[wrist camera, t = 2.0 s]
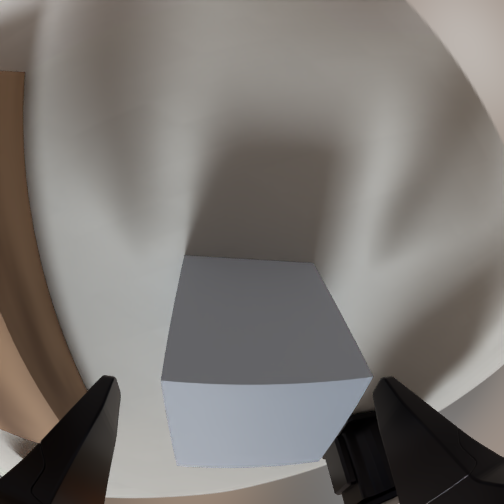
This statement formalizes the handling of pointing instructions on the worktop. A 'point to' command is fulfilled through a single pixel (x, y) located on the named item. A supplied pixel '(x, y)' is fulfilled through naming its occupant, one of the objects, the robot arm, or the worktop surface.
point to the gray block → (257, 364)
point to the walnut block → (26, 297)
